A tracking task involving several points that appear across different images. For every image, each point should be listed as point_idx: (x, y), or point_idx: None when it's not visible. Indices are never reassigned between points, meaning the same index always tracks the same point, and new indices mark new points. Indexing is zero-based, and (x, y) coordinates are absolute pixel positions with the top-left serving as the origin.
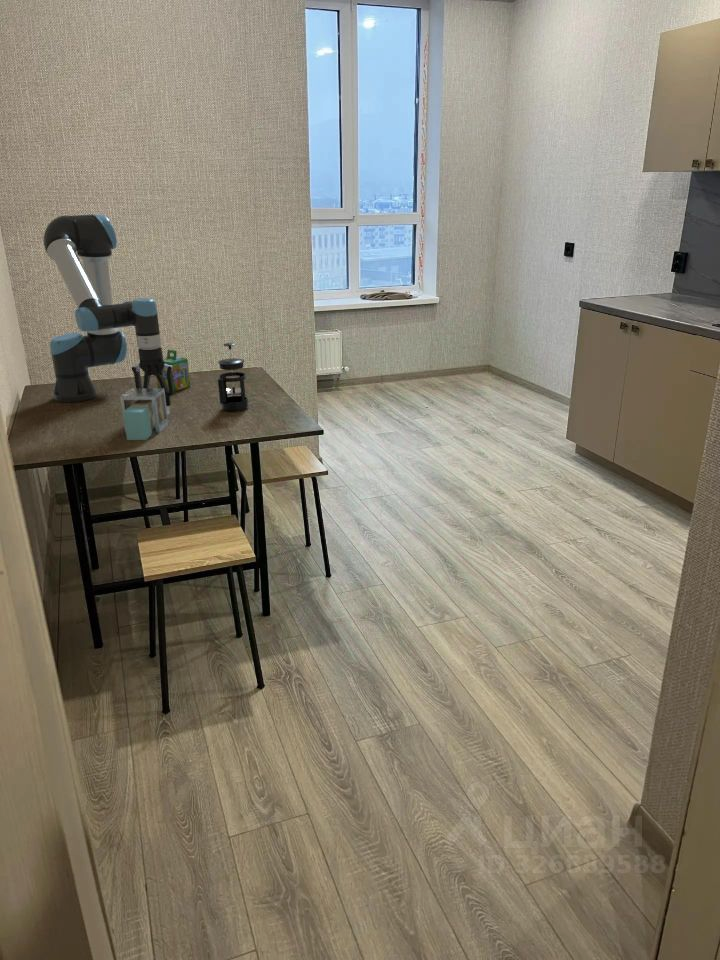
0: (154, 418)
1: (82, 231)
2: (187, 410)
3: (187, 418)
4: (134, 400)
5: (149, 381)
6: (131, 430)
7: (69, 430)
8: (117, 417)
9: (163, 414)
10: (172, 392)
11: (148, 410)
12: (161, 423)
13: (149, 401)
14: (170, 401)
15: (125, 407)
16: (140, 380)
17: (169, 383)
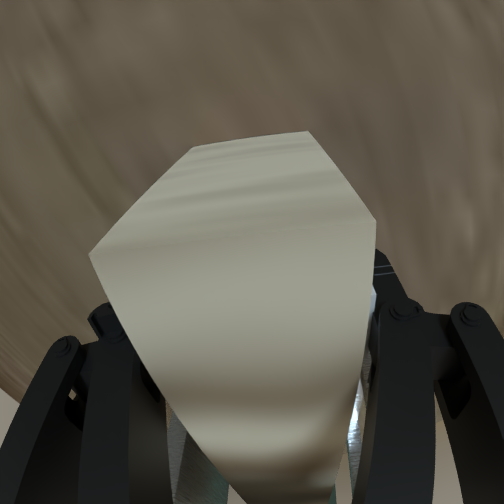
0: (348, 455)
1: None
2: (411, 48)
3: (451, 233)
4: (188, 464)
5: (131, 494)
6: None
7: None
8: (37, 255)
9: (360, 379)
10: (463, 380)
11: (335, 493)
12: (359, 401)
13: (322, 498)
14: (392, 270)
15: (225, 499)
16: (35, 481)
17: (475, 475)
